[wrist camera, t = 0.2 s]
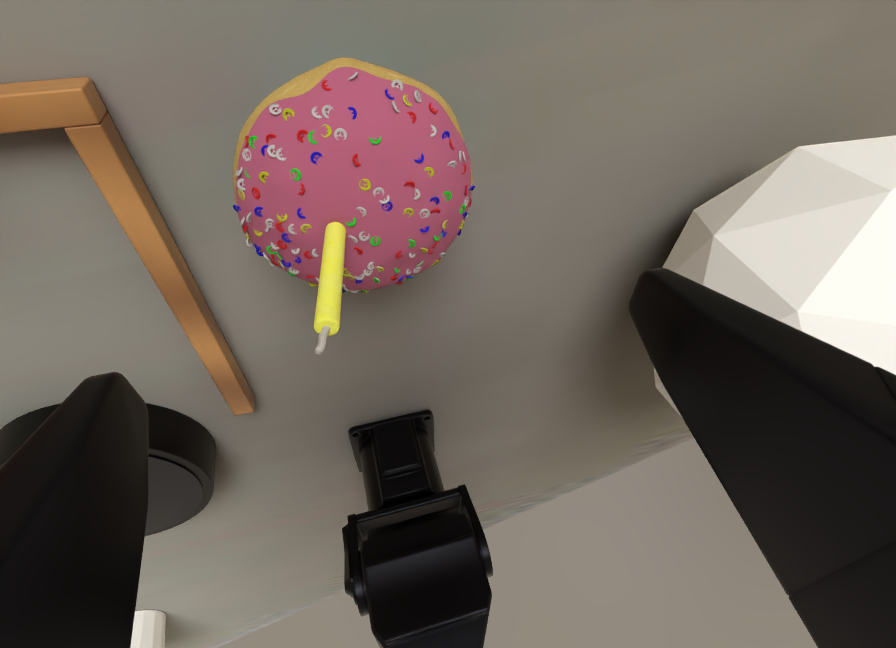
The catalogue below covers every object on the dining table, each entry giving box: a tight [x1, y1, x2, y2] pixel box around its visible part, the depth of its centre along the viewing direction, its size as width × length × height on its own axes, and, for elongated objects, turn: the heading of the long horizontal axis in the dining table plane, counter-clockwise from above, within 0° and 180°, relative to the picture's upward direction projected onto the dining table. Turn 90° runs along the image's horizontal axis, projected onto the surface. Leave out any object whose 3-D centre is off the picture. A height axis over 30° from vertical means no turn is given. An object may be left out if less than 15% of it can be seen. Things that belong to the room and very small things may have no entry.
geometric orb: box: [654, 136, 896, 417], centre depth 25 cm, size 19×20×20 cm
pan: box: [0, 404, 216, 536], centre depth 29 cm, size 12×20×3 cm, turn 90°
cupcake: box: [233, 57, 475, 354], centre depth 16 cm, size 9×8×12 cm
